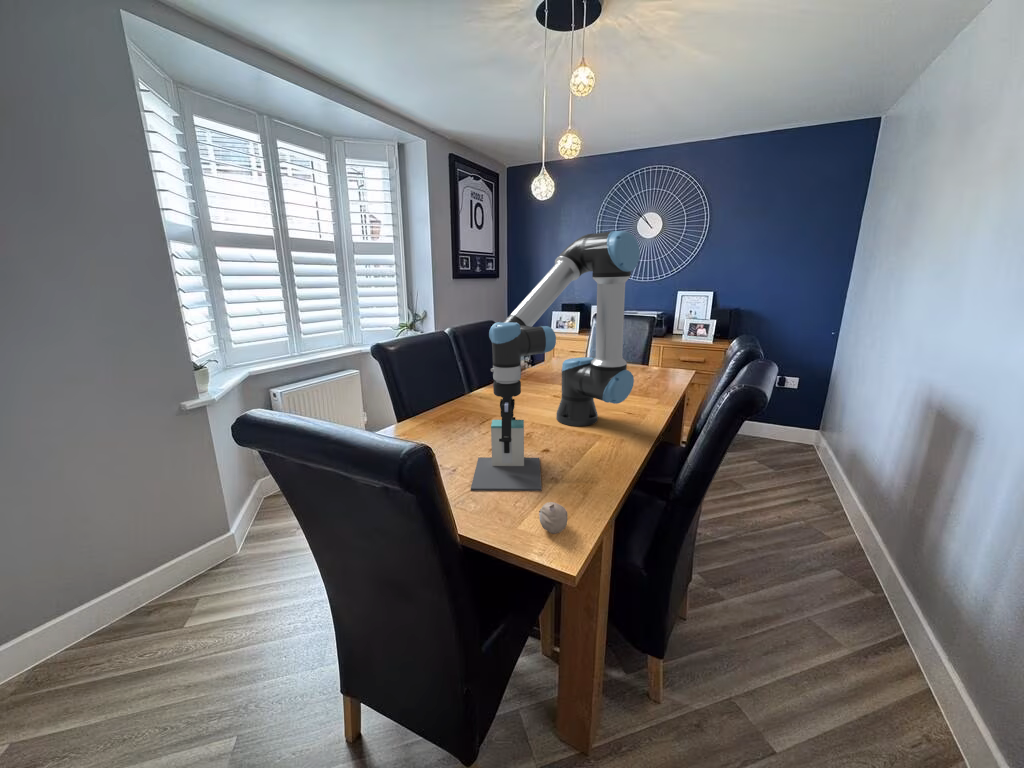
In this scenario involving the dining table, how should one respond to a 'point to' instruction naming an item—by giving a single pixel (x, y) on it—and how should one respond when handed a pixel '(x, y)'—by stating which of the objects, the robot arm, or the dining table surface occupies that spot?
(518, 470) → the rubber mat
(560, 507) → the garlic bulb
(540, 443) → the dining table surface
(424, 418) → the dining table surface
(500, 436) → the grey teal block
